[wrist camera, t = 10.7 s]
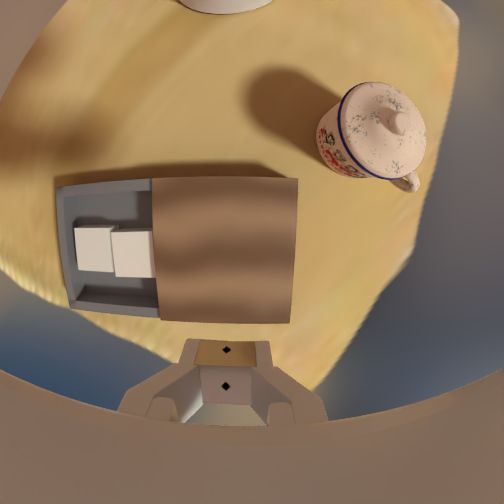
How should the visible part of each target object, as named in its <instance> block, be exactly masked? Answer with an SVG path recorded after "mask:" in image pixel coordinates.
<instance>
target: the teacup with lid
mask: <svg viewBox="0 0 504 504" xmlns="http://www.w3.org/2000/svg"><path fill="white" fill-rule="evenodd" d="M316 143H317V147H318V150H319V153H320V155H321V157H322V159H323V160H324V162H325V163H326V164H327V165H328V166H329V167H330V168H331V169H332V170H333V171H335V172H336V173H338V174H340V175H342V176H345V177H349V178H370V177H377V178H381V179H386V180H389V181H390V182H391V183H392V184H393V185H395V186H396V187H397V188H399V189H401V190H403V191H405V192H408V193H414V192H415V191H416V190H417V189H418V188H419V186H420V181H419V178H418V175H417V174H416V172H415V171H414V170H415V169H416V167H417V166H418V165H419V163H420V162H421V160H422V158H423V155H424V152H425V148H426V131H425V126H424V122H423V120H422V117H421V115H420V113H419V111H418V109H417V108H416V106H415V105H414V103H413V102H412V101H411V100H410V99H409V98H408V97H407V96H406V95H405V94H404V93H403V92H401V91H400V90H398V89H397V88H395V87H393V86H391V85H388V84H385V83H381V82H365V83H361V84H358V85H356V86H354V87H353V88H351V89H350V90H349V91H348V92H347V93H346V94H345V96H344V97H343V99H342V100H341V101H340V102H339V103H338V104H336V105H335V106H334V107H333V108H332V109H330V110H329V111H328V112H327V113H326V114H325V115H324V116H323V117H322V118H321V120H320V122H319V124H318V127H317V131H316ZM403 177H406V178H407V180H408V181H406V180H404V179H403Z"/></svg>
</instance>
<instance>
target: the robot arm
mask: <svg viewBox="0 0 504 504" xmlns="http://www.w3.org/2000/svg"><path fill="white" fill-rule="evenodd" d="M179 1H180V2H181V3H183V4H184V5H185V6H187V7H189V8H191V9H194V10H197V11H200V12H205V13H212V14H232V13H240V12H246V11H250V10H253V9H257V8H259V7H262V6H264V5H266V4H268V3H270V2H271V1H273V0H179ZM203 403H206V404H234V405H235V404H236V405H251V407H252V408H253V410H254V411H255V412H256V413H257V414H258V416H259V417H260V418H261V419H262V420H263V422H264V423H265V424H266V425H267V426H218V425H203V424H191V423H185V422H186V421H187V420H188V419H189V418H190V417H191V416H192V415H193V414H194V413H195V412H196V411H197V410H198V409H199V408H200V407H201V406H202V405H203ZM0 504H504V368H502V369H501V370H499V371H497V372H495V373H493V374H491V375H488V376H486V377H484V378H482V379H480V380H477V381H475V382H473V383H471V384H468V385H466V386H463V387H461V388H458V389H456V390H453V391H450V392H448V393H445V394H442V395H439V396H436V397H433V398H430V399H427V400H424V401H421V402H417V403H414V404H411V405H407V406H403V407H400V408H395V409H391V410H387V411H383V412H379V413H374V414H369V415H365V416H359V417H353V418H347V419H342V420H335V421H328V418H327V415H326V411H325V408H324V405H323V402H322V399H321V398H319V397H318V396H317V395H315V394H314V393H312V392H311V391H309V390H308V389H307V388H305V387H304V386H302V385H301V384H300V383H298V382H297V381H296V380H294V379H293V378H292V377H290V376H289V375H288V374H286V373H285V372H283V371H282V370H281V369H280V368H278V367H273V363H272V356H271V350H270V343H269V341H219V340H203V339H187V340H186V342H185V345H184V348H183V351H182V354H181V357H180V360H179V363H174V364H172V365H170V366H169V367H167V368H166V369H164V370H162V371H160V372H159V373H157V374H155V375H153V376H152V377H150V378H148V379H147V380H145V381H143V382H141V383H140V384H138V385H136V386H134V387H132V388H131V389H129V390H127V392H126V394H125V395H124V397H123V400H122V401H121V403H120V406H119V408H118V410H117V411H113V410H109V409H104V408H100V407H97V406H93V405H90V404H86V403H83V402H80V401H76V400H73V399H70V398H67V397H64V396H61V395H58V394H56V393H53V392H50V391H48V390H45V389H42V388H39V387H37V386H35V385H32V384H30V383H28V382H25V381H23V380H21V379H19V378H17V377H14V376H12V375H10V374H8V373H6V372H4V371H2V370H0Z"/></svg>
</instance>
